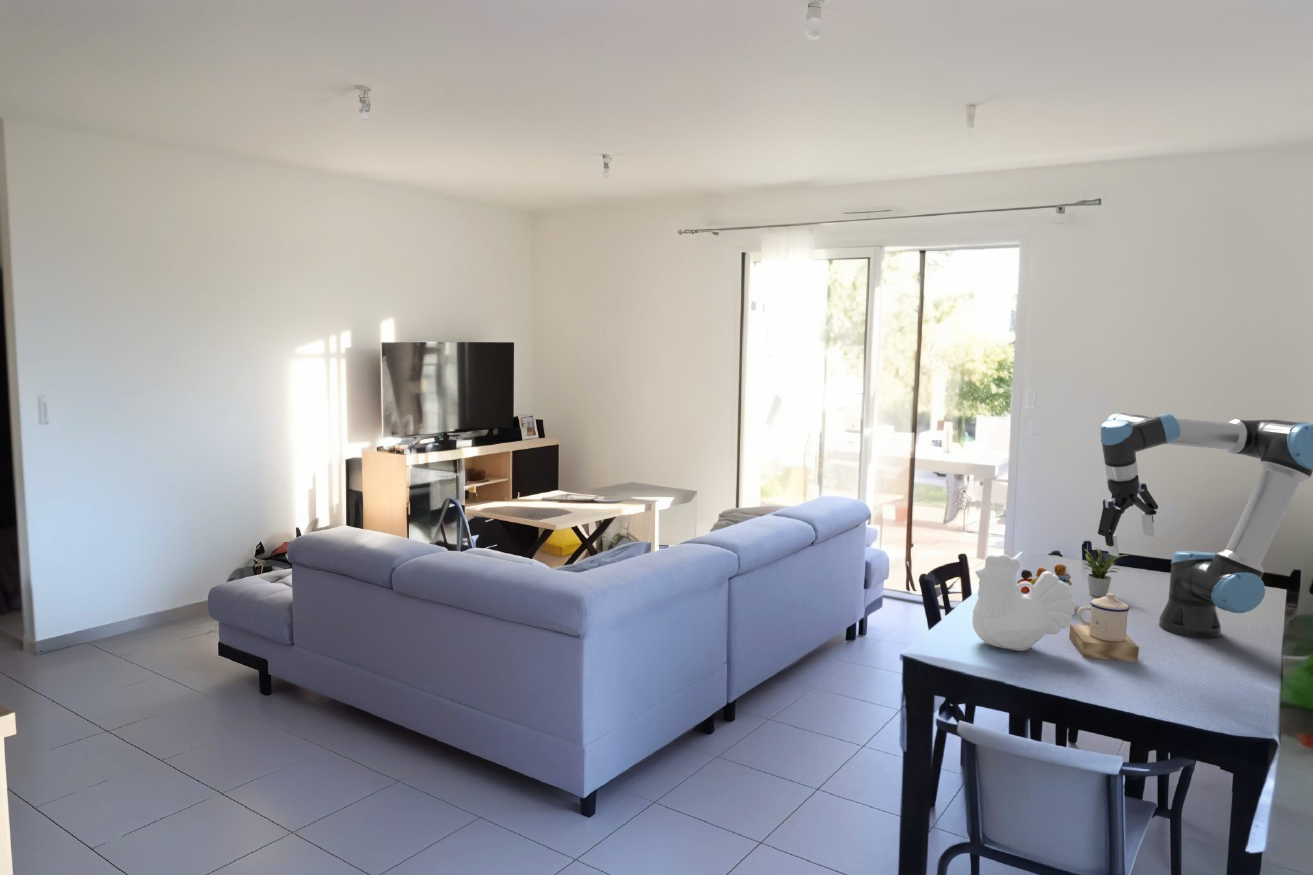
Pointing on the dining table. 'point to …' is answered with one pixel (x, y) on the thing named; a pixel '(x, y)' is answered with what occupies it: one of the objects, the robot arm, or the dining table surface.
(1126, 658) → the oak slab
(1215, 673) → the dining table surface
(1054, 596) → the decorative rooster
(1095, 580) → the house plant
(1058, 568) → the doll family
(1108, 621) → the teacup with lid
